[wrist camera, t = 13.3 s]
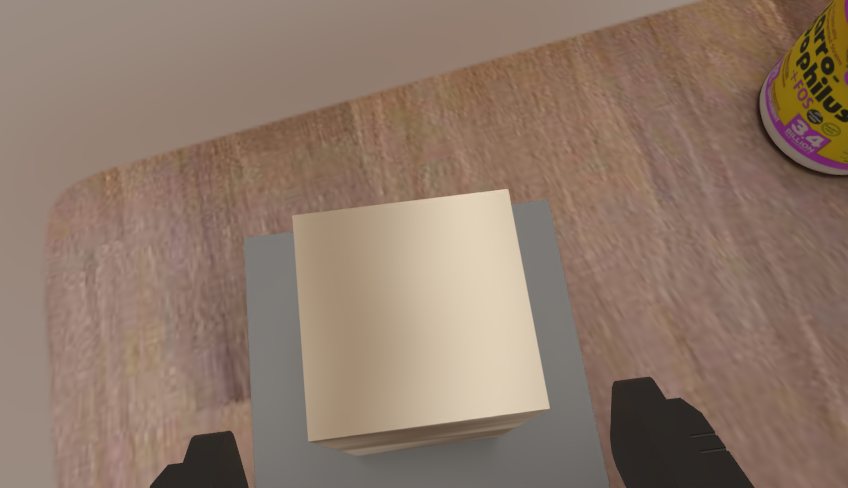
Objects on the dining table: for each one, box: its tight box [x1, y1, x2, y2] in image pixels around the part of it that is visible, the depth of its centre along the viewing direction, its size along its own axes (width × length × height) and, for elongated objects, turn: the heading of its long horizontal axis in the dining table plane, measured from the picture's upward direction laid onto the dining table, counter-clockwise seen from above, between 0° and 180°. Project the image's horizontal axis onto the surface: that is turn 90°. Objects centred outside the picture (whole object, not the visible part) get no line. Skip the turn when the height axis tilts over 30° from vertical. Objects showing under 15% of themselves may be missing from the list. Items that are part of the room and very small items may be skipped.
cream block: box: [292, 189, 550, 456], centre depth 19 cm, size 5×5×10 cm
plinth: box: [244, 200, 610, 488], centre depth 26 cm, size 12×12×4 cm
